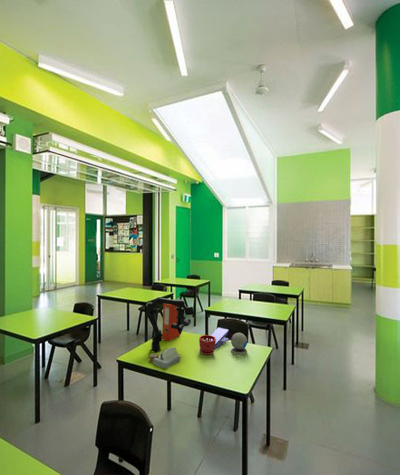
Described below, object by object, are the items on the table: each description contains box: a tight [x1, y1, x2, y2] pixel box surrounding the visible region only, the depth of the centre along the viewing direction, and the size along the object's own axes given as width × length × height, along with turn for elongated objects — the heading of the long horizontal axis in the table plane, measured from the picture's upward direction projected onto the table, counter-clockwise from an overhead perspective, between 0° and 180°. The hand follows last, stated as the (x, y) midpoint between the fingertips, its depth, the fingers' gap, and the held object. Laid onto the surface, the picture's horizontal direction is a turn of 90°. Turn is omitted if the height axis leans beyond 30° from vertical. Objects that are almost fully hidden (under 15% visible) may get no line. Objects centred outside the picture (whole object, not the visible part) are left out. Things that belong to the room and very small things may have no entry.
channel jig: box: [153, 355, 181, 370], centre depth 198 cm, size 11×16×4 cm
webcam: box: [230, 332, 248, 356], centre depth 221 cm, size 13×13×15 cm
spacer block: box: [148, 352, 160, 363], centre depth 201 cm, size 5×5×4 cm
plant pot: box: [198, 334, 216, 356], centre depth 217 cm, size 13×13×12 cm
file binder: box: [161, 303, 181, 342], centre depth 249 cm, size 8×17×32 cm, turn 150°
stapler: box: [207, 327, 230, 350], centre depth 238 cm, size 12×28×10 cm, turn 148°
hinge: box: [159, 347, 180, 362], centre depth 201 cm, size 17×5×10 cm, turn 148°
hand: (180, 334), depth 223 cm, fingers closed
